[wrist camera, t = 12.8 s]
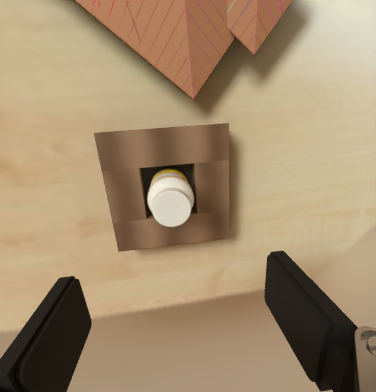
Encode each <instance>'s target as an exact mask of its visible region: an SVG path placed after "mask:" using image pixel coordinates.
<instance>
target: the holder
mask: <svg viewBox="0 0 376 392" xmlns="http://www.w3.org/2000/svg"><path fill="white" fill-rule="evenodd" d="M94 136H95V141H96V145H97V150H98V155H99V160H100V165H101V169H102V174H103V179H104V184H105V188H106V193H107V198H108V203H109V208H110V212H111V217H112V222H113V227H114V231H115V236H116V241H117V246H118V251H119V252H120V251H128V250H136V249H145V248H153V247H162V246H170V245H179V244H187V243H195V242H204V241H212V240H221V239H229V123H226V124H212V125H198V126H184V127H171V128H157V129H143V130H129V131H115V132H101V133H94ZM166 167H173V168H177V169H179V170H180V171H181V172H182V173H183V174H184V175H185V176H186V178H187V180H188V182H189V184H190V187H191V189H192V191H193V195H194V203H193V207H192V209H191V213H190V216H189V218H188V219H187V220H186V221H185V222H184V223H183V224H181V225H179V226H175V227H167V226H164V225H162V224H160V223H159V222H157V220H156V219H155V218H154V216H153V213H152V212H151V210H150V208H149V206H148V200H147V198H148V192H149V189H150V185H151V181H152V178H153V176H154V175H155V174H156V173H157V172H158V171H159V170H161V169H163V168H166Z"/></svg>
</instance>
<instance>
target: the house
mask: <svg viewBox="0 0 376 392" xmlns="http://www.w3.org/2000/svg"><path fill="white" fill-rule="evenodd" d="M75 1H76V2H78V3H79V4H80V5H81V6H82V7H84V8H85V9H86V10H87V11H88V12H90V13H91V14H92V15H93V16H94V17H96V18H97V19H98V20H99V21H100V22H101V23H103V24H104V25H105V26H106V27H107V28H109V29H110V30H111V31H112V32H113V33H115V34H116V35H117V36H118V37H119V38H121V39H122V40H123V41H124V42H125V43H127V44H128V45H129V46H130V47H131V48H133V49H134V50H135V51H136V52H137V53H139V54H140V55H141V56H142V57H143V58H144V59H146V60H147V61H148V62H149V63H150V64H152V65H153V66H154V67H155V68H156V69H158V70H159V71H160V72H161V73H162V74H164V75H165V76H166V77H167V78H168V79H170V80H171V81H172V82H173V83H174V84H176V85H177V86H178V87H179V88H180V89H182V90H183V91H184V92H185V93H186V94H187V95H189V96H190V97H191V98H192V99H194V98H195V96H196V95H197V93H198V92H199V90H200V89H201V87H202V86H203V84H204V83H205V81H206V80H207V78H208V77H209V75H210V74H211V72H212V71H213V69H214V68H215V66H216V65H217V64H218V62H219V61H220V59H221V58H222V56H223V55H224V53H225V52H226V50H227V49H228V47H229V46H230V44H231V43H232V41H233V40H234V38H235V37H236V38H237V39H238V40H239V41H240V42H241V43H242V44H243V45H244V46H245V47H246V48H247V49H248V50H249V51H250V52H251V53H252V54H253V55H254V54H255V53H256V51H257V50H258V49H259V47H260V46H261V44H262V43H263V41H264V40H265V39H266V37H267V36H268V34H269V33H270V32H271V30H272V29H273V27H274V26H275V24H276V23H277V22H278V20H279V19H280V17H281V16H282V15H283V13H284V12H285V10H286V9H287V8H288V6H289V5H290V3H291V2H292V0H75Z"/></svg>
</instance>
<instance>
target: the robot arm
mask: <svg viewBox="0 0 376 392" xmlns="http://www.w3.org/2000/svg"><path fill="white" fill-rule="evenodd" d="M265 301H266V304H267V306H268V307H269V309H270V311H271V313H272V315H273V316H274V318H275V320H276V322H277V323H278V325H279V327H280V329H281V330H282V332H283V334H284V336H285V337H286V339H287V341H288V343H289V344H290V346H291V348H292V350H293V352H294V353H295V355H296V357H297V358H298V360H299V362H300V364H301V366H302V367H303V369H304V371H305V372H306V374H307V376H308V378H309V379H310V380H311V381H312V382H314V381H315V383H316V385H317V386H318V388H319V390H320V391H326V390H333V392H376V328H374V327H367V326H363V327H360V328H358V327H357V326H356V325H355V324H354V323H353V322H352V321H351V320H350V319H349V318H348V317H347V316H346V315H345V314H344V313H343V312H342V311H341V310H340V309H339V308H338V306H337V305H336V304H335V303H333V301H332V300H331V299H330V298H329V297H328V296H327V295H326V294H325V293H324V292H323V291H322V290H321V289H320V288H319V287H318V286H317V285H316V284H315V283H314V282H313V280H312V279H310V278H309V277H308V276H307V275H306V274H305V273H304V272H303V271H302V270H301V269H300V267H299V266H298V265H297V264H296V263H295V262H294V261H293V260H292V259H291V258H290V257H289V256H288V255H287V254H286V253H285V252H284V251H276V252H271V253H270V255H268V257H267V268H266V282H265ZM90 329H91V318H90V314H89V311H88V308H87V305H86V301H85V298H84V295H83V291H82V288H81V285H80V282H79V280H78V279H75V277H74V276H70V277H62V278H59V279H58V280H57V282H56V283H55V284H54V286H53V287H52V289H51V290H50V291H49V293H48V294H47V295H46V297H45V298H44V300H43V301H42V302H41V304H40V305H39V306H38V308H37V309H36V311H35V312H34V313H33V315H32V316H31V318H30V319H29V320H28V322H27V323H26V324H25V326H24V327H23V329H22V330H21V331H20V333H19V334H18V335H17V337H16V338H15V340H14V341H13V342H12V344H11V345H10V347H9V348H8V349H7V351H6V352H5V353H4V355H3V356H2V358H1V359H0V392H67V389H68V386H69V384H70V381H71V379H72V376H73V373H74V371H75V368H76V365H77V363H78V360H79V357H80V355H81V352H82V350H83V347H84V344H85V342H86V339H87V337H88V334H89V332H90Z"/></svg>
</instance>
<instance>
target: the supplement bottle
mask: <svg viewBox="0 0 376 392" xmlns="http://www.w3.org/2000/svg"><path fill="white" fill-rule="evenodd" d="M147 200H148V206H149V208H150V210H151V212H152V213H153V216H154V218H155V219H156V220H157V222H159V223H160V224H162V225H164V226H167V227H175V226H179V225H181V224H183V223H184V222H185V221H186V220H187V219H188V218H189V216H190V213H191V209H192V207H193V203H194V195H193V191H192V189H191V187H190V184H189V182H188V180H187V178H186V176H185V175H184V174H183V173H182V172H181V171H180V170H179V169H177V168H173V167H166V168H163V169H161V170H159V171H158V172H157V173H156V174H155V175H154V176H153V178H152V181H151V185H150V189H149V192H148V198H147Z"/></svg>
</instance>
